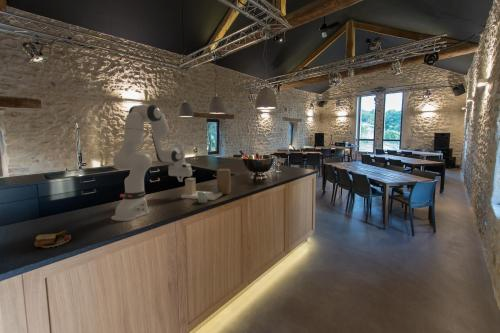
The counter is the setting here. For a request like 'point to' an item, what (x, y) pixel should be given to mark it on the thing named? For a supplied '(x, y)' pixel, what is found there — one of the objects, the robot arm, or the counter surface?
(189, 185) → the carton
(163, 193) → the counter surface
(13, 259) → the counter surface
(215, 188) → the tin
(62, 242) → the toy sandwich meal
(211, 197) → the white tray
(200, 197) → the sage green capsule
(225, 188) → the wooden block
